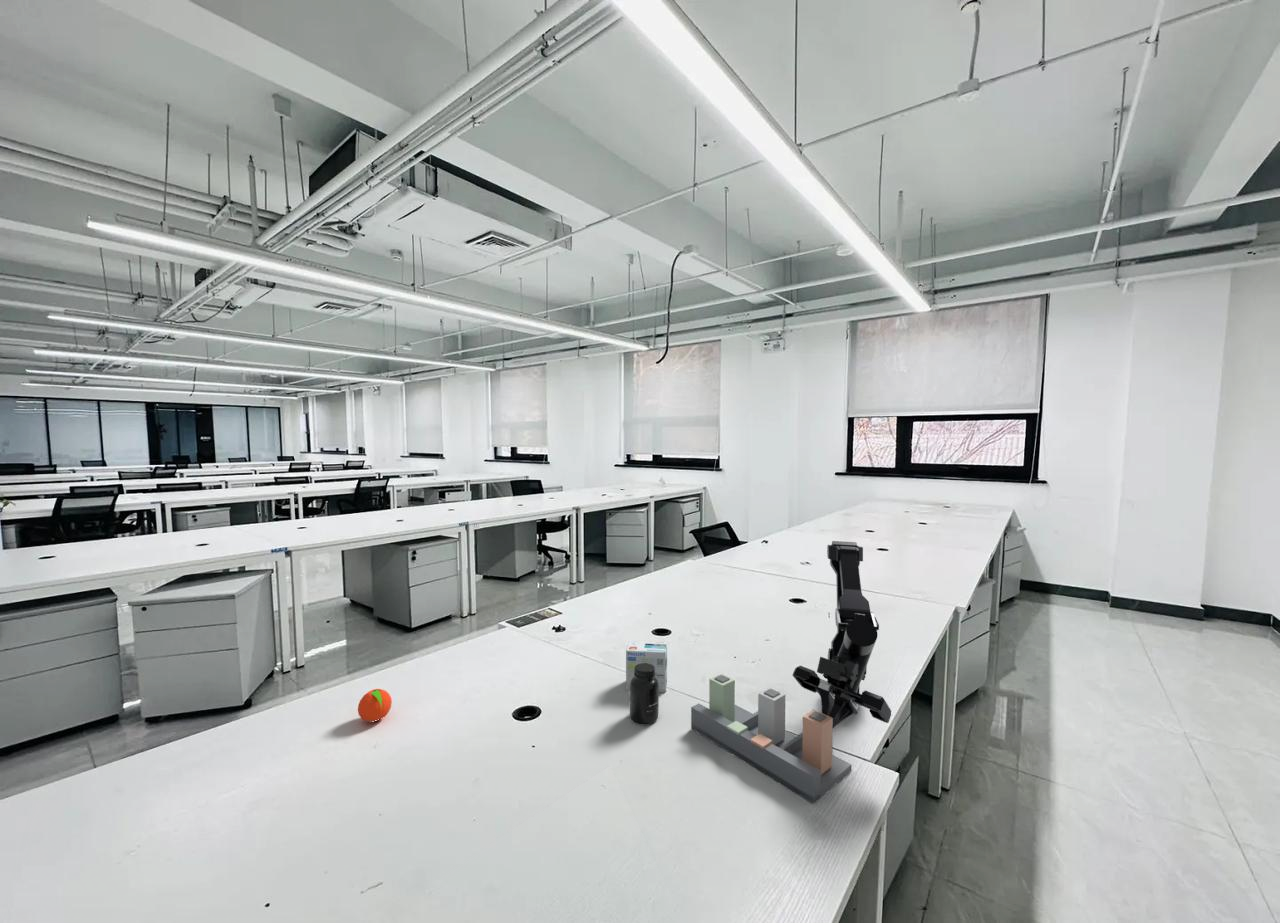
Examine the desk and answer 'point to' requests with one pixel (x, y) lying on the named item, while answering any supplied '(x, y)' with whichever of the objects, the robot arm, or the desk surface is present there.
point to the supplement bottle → (644, 695)
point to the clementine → (374, 705)
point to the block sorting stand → (768, 752)
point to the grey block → (771, 715)
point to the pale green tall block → (722, 696)
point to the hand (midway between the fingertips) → (823, 732)
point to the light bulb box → (647, 660)
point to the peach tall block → (817, 740)
